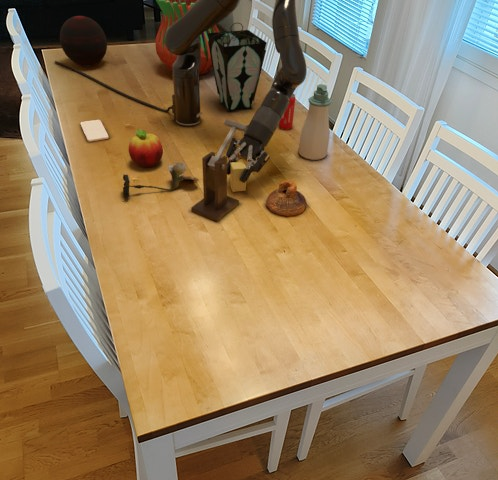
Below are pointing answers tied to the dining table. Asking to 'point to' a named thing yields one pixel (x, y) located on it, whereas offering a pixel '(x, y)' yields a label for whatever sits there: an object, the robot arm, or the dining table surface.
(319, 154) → the soap bottle
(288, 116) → the beverage can
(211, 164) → the blade lever
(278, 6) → the robot arm
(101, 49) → the decorative orb
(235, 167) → the butter
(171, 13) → the vase
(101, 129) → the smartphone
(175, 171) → the artificial flower
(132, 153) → the fruit
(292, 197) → the bell
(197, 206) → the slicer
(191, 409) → the dining table surface
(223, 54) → the lantern
